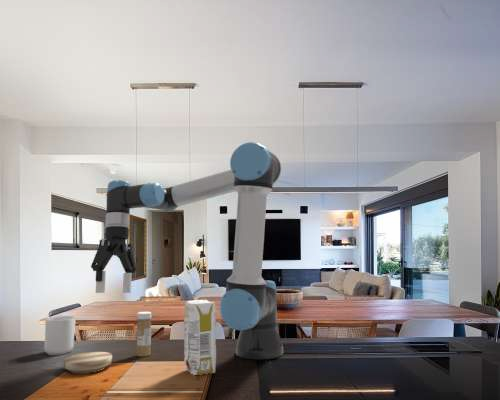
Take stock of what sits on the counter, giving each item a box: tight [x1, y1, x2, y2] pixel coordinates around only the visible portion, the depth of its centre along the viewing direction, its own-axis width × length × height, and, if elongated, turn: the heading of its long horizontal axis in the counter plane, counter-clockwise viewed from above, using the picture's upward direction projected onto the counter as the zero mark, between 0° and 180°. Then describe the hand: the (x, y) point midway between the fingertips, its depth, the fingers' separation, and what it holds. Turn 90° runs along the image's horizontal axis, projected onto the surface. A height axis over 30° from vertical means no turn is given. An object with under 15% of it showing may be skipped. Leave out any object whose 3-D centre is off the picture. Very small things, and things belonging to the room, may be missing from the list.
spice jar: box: [136, 311, 152, 358], centre depth 132 cm, size 5×5×14 cm
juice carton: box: [183, 299, 217, 376], centre depth 113 cm, size 8×9×19 cm
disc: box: [63, 351, 113, 375], centre depth 117 cm, size 13×13×3 cm
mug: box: [44, 315, 76, 356], centre depth 139 cm, size 12×9×11 cm
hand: (114, 292), depth 130 cm, fingers open, 13 cm apart
